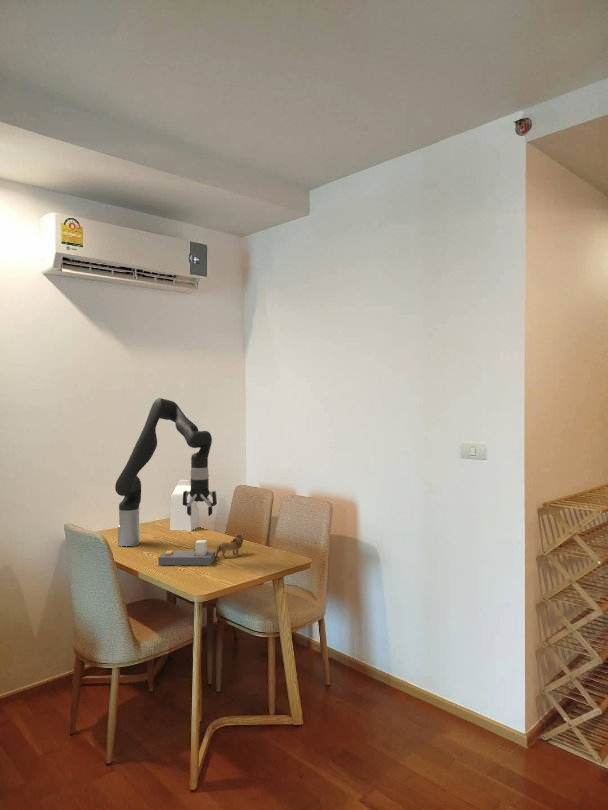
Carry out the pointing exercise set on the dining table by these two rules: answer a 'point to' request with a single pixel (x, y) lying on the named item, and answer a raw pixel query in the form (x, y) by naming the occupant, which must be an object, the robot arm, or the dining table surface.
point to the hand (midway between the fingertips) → (199, 515)
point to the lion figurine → (230, 546)
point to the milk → (183, 509)
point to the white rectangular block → (201, 547)
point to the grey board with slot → (185, 558)
